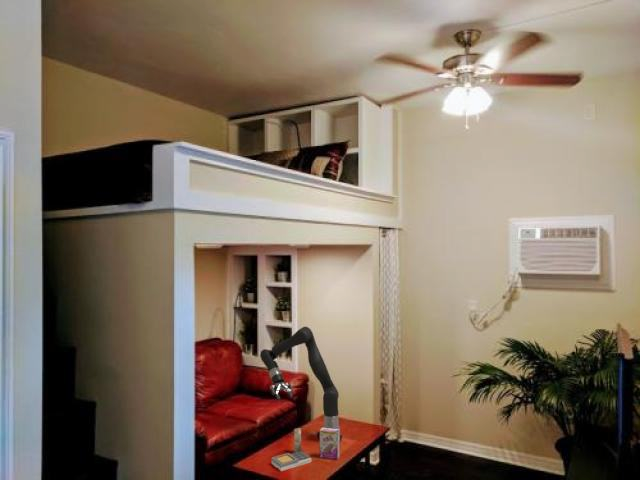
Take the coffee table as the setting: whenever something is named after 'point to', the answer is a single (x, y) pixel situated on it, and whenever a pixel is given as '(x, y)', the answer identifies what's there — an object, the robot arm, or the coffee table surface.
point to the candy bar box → (329, 443)
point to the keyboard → (297, 460)
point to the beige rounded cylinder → (297, 440)
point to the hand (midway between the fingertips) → (285, 398)
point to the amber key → (284, 459)
